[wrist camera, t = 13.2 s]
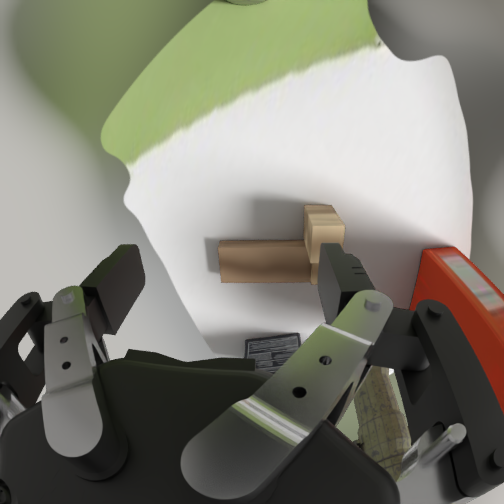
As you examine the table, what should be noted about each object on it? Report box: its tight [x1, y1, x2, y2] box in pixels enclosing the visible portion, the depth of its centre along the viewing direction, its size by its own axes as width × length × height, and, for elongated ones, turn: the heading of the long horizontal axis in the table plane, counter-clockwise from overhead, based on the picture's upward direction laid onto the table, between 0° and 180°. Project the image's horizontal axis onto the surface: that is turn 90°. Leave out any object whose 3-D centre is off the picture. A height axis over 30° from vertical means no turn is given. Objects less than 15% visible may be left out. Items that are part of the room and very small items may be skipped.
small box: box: [244, 333, 301, 374], centre depth 48 cm, size 11×6×10 cm, turn 102°
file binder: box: [409, 247, 504, 414], centre depth 31 cm, size 8×17×32 cm, turn 5°
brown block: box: [218, 240, 312, 283], centre depth 42 cm, size 6×17×2 cm, turn 92°
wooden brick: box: [303, 205, 345, 285], centre depth 38 cm, size 11×4×8 cm, turn 2°
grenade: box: [353, 366, 412, 482], centre depth 38 cm, size 9×12×35 cm
